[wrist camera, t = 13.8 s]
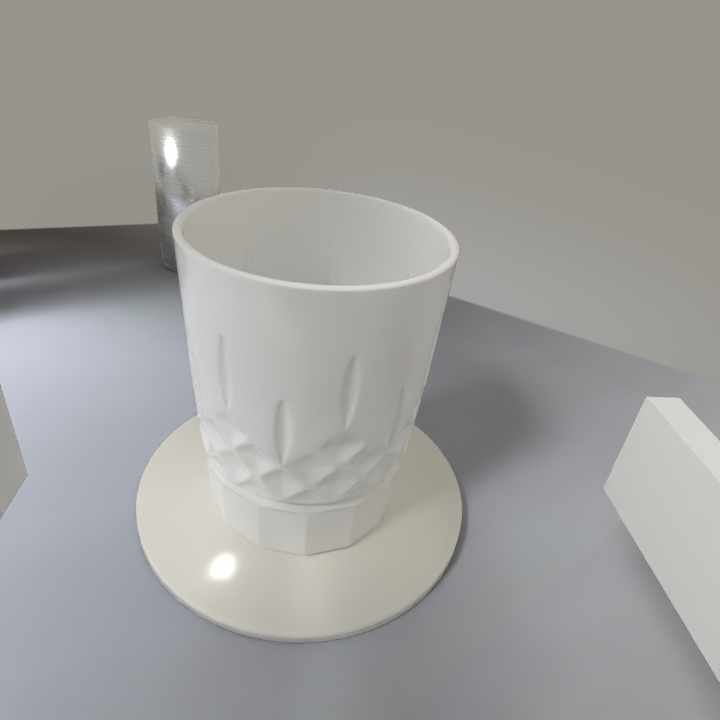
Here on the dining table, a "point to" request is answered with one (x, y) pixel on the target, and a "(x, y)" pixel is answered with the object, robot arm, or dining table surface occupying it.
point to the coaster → (292, 571)
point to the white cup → (308, 353)
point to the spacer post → (182, 171)
